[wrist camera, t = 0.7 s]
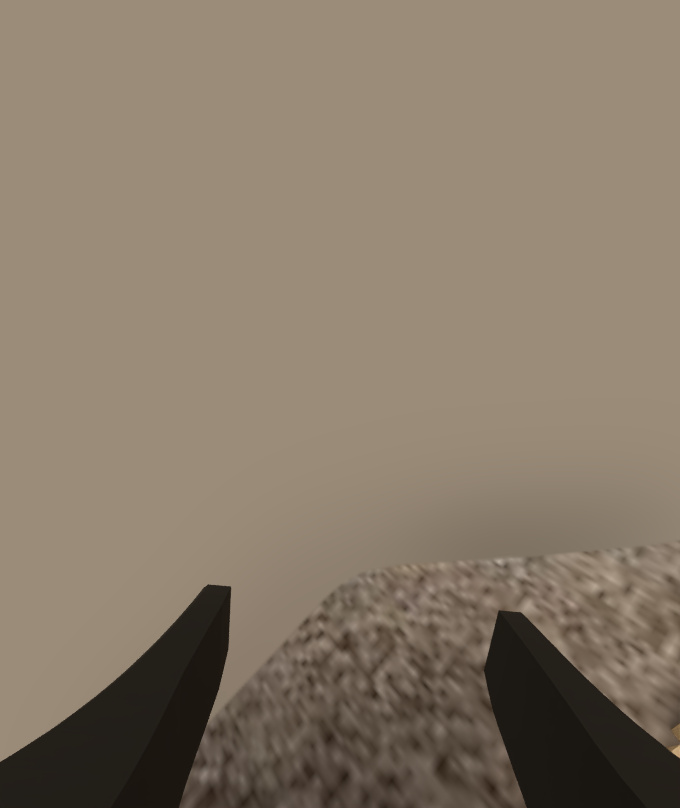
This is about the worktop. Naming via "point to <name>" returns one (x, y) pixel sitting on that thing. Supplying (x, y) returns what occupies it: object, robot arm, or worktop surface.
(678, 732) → the block seven
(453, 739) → the worktop surface
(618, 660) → the worktop surface
